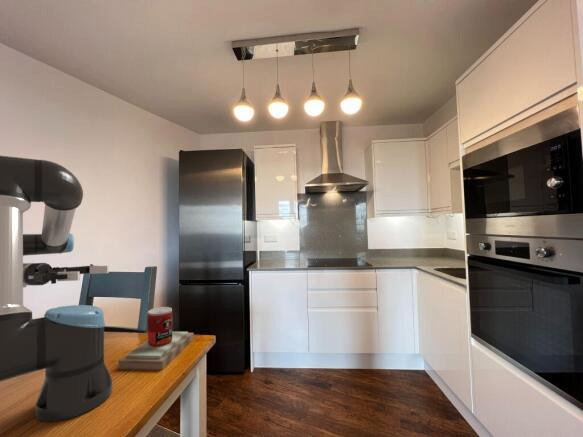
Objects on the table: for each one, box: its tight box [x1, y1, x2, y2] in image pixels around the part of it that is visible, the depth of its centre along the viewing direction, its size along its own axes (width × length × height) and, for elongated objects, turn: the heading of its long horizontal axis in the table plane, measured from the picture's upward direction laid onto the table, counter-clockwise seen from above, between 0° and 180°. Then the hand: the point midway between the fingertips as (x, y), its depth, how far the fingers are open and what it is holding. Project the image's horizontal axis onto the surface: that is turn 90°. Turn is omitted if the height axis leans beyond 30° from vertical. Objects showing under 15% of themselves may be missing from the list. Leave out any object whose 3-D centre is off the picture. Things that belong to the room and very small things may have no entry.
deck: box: [118, 331, 195, 371], centre depth 94 cm, size 22×14×4 cm, turn 176°
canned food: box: [147, 306, 173, 347], centre depth 94 cm, size 8×8×11 cm
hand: (94, 272), depth 93 cm, fingers open, 13 cm apart
